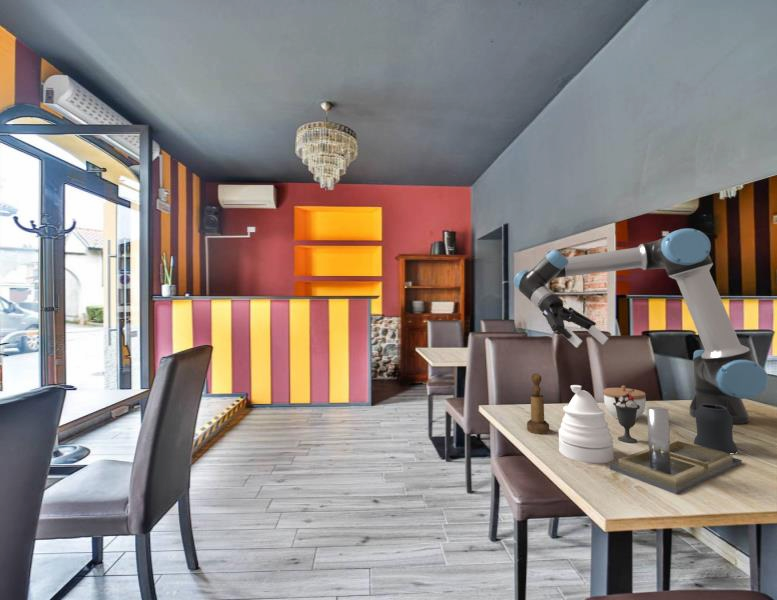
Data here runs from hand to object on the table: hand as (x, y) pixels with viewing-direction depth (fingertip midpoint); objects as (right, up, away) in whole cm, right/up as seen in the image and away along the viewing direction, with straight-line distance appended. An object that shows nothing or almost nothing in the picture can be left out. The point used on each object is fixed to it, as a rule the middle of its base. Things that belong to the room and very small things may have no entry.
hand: (593, 343), depth 117 cm
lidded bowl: (+18, -28, +11) cm, 35 cm away
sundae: (+5, -27, -10) cm, 29 cm away
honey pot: (-12, -28, -18) cm, 35 cm away
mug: (+25, -27, -16) cm, 40 cm away
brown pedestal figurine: (-17, -28, 0) cm, 33 cm away
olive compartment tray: (+5, -27, -28) cm, 39 cm away
